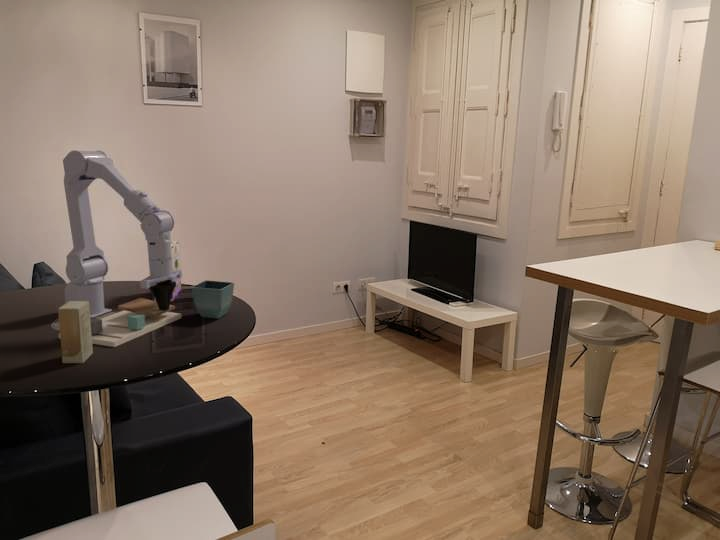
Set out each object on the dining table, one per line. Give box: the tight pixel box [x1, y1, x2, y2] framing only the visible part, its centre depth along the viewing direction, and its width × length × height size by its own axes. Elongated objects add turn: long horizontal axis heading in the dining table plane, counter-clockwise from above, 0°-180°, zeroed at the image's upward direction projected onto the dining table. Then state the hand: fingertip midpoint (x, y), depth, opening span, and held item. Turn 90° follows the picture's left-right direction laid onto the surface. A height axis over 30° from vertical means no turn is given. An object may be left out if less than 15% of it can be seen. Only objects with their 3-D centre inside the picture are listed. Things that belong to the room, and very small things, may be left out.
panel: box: [58, 310, 182, 348], centre depth 148 cm, size 16×26×3 cm, turn 162°
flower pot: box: [191, 280, 235, 319], centre depth 159 cm, size 9×9×9 cm
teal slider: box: [127, 314, 145, 330], centre depth 143 cm, size 3×3×3 cm
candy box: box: [153, 240, 182, 302], centre depth 179 cm, size 14×6×16 cm, turn 6°
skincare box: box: [57, 301, 94, 364], centre depth 124 cm, size 6×4×12 cm
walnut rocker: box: [117, 297, 176, 317], centre depth 153 cm, size 11×9×1 cm
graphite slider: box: [90, 317, 103, 335], centre depth 138 cm, size 3×3×3 cm
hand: (164, 309), depth 152 cm, fingers closed, pressing on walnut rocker
